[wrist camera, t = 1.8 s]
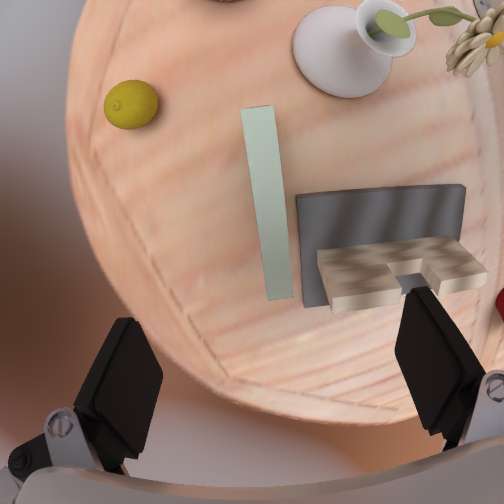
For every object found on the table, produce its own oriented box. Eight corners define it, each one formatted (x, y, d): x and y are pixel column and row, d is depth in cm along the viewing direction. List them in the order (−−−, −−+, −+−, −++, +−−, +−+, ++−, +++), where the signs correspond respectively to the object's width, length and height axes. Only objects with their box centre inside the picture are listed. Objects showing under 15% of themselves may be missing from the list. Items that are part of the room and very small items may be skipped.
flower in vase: (301, 102, 30) (396, 104, 8) (281, 13, 25) (318, -127, 3) (404, 95, 29) (576, 123, 7) (387, 11, 24) (530, -54, 1)
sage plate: (249, 107, 31) (240, 109, 17) (267, 105, 31) (273, 105, 16) (265, 221, 37) (267, 300, 23) (281, 219, 37) (293, 297, 23)
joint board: (460, 183, 33) (511, 215, 23) (445, 280, 41) (480, 325, 31) (295, 194, 35) (309, 235, 25) (303, 301, 43) (313, 360, 33)
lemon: (147, 72, 29) (117, 66, 22) (176, 103, 31) (152, 104, 23) (116, 104, 30) (81, 108, 23) (143, 135, 32) (114, 145, 25)
